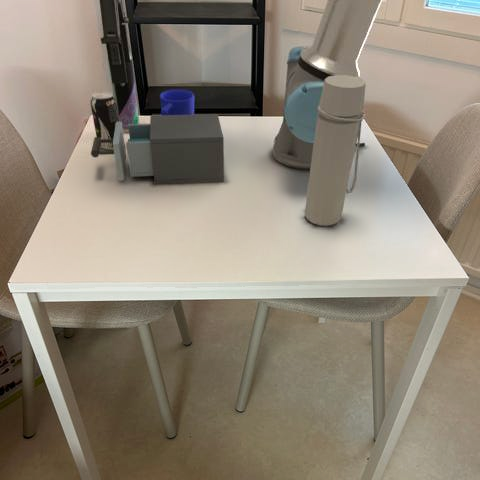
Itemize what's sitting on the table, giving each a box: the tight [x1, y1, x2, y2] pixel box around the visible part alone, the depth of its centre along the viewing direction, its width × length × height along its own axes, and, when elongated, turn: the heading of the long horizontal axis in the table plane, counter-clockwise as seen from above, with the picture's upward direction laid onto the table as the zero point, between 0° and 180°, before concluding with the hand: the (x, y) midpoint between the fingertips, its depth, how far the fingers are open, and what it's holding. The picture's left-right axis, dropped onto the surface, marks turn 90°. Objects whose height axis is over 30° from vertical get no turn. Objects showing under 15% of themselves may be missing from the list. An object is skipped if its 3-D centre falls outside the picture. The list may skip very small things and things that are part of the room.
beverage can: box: [90, 90, 119, 151], centre depth 111 cm, size 6×6×12 cm
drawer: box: [90, 122, 154, 181], centre depth 103 cm, size 19×12×8 cm, turn 97°
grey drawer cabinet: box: [149, 113, 225, 185], centre depth 104 cm, size 15×13×10 cm
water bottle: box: [304, 75, 367, 227], centre depth 85 cm, size 9×8×25 cm
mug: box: [159, 89, 195, 115], centre depth 116 cm, size 8×12×10 cm
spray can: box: [107, 51, 140, 133], centre depth 117 cm, size 6×6×20 cm
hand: (121, 71), depth 92 cm, fingers open, 13 cm apart
